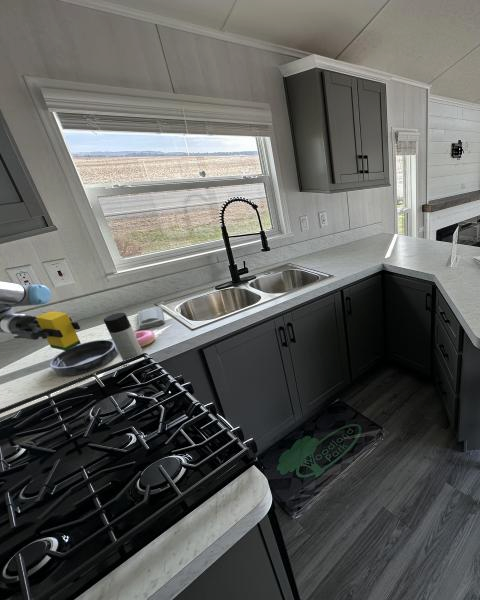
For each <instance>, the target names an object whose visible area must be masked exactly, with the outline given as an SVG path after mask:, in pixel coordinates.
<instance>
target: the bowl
mask: <svg viewBox="0 0 480 600" xmlns="http://www.w3.org/2000/svg"><path fill="white" fill-rule="evenodd" d="M118 354H119V351H118V349H117V347H116V345H115V343H114V341H113V340H111V339H98V340H91V341H87V342H83V343H81V344H79V345H77V346H75V347H73V348H71V349H69V350H67V351H65V350H62V351H61V352H60V353H58V354H57V355H55V356H54V357H53V358H52V359H51V360H50V361H49V366H50V368H51V371H53V373H54V374H55V375H56V376H60V377H68V376H69V377H70V376H76V375H80V374H84V373H87V372H91V371H93V370H96V369H98V368H100V367H102V366H104V365H106V364H107V363H109V362H110V361H112V360H113V359H114V358H115V357H116V356H117V355H118ZM90 370H91V371H90Z"/></svg>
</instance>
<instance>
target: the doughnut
mask: <svg viewBox="0 0 480 600" xmlns="http://www.w3.org/2000/svg"><path fill="white" fill-rule="evenodd" d="M134 333H135V335H136V338H137V340H138V342H139V344H140V346H141V348H143V347H146V346H148V345H150V344H151V343H152V342H154V341H155V339H156V334H155V333H154V332H153V331H152V330H146V329H143V330H139V331H136V332H135V331H134Z"/></svg>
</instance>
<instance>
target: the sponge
mask: <svg viewBox="0 0 480 600" xmlns="http://www.w3.org/2000/svg"><path fill="white" fill-rule="evenodd" d="M69 317H70V316H69V315H68V313H65V312H61V311H56V310H49V311H47V312H45V313H42V314H40V315H36V319H37V321H38V323H39V325H40V327H41V329H42V330H43V331H44V329H54V330H60V331H61V333H62V335H63V337H62V338H59V337H51V336H50V337H47V338H46V339H45V340H46V341H47V343H48V344H49V347H50V348H51V349H56V350H61V351H67V350H69V349H71V348H73V347H75V346H77V345H80V344H82V343H81V341H80V339H79V336H78V335H77V332H76V329H74V328H73V326H72V324H71V321H70V319H69Z"/></svg>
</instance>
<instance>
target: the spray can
mask: <svg viewBox="0 0 480 600" xmlns="http://www.w3.org/2000/svg"><path fill="white" fill-rule="evenodd" d="M103 322H104V325H105V326H106V329H107V331H108V333H109V335H110V338H111V339H112V341H113V342H114V343H115V345H116V347H117V349H118V354H119V356H120V358H121V360H122V362H123V361H124V360H127V359H129V358H132V357H135V356H137V355H140V354H143V353H144V351H143V348H142V347H141V346H140V344H139V342H138V340H137V338H136V335H135V331H134V329H133V326H132V324H131V322H130V320H129V317H128V315H127V314H126V313H125V312H116V313H113V314H112V313H111V314H110V315H108V316H106V317H104V318H103Z"/></svg>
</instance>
